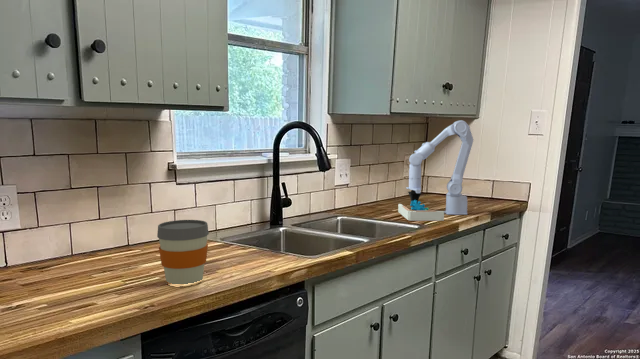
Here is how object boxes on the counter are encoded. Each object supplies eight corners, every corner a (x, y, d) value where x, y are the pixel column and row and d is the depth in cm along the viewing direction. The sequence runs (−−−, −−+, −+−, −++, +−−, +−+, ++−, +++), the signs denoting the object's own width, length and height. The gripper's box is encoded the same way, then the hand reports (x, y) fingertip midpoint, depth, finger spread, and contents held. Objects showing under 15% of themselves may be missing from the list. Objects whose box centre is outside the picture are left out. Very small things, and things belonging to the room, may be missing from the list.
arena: (430, 211, 223) (430, 203, 222) (443, 220, 200) (444, 210, 200) (398, 211, 222) (398, 203, 222) (408, 220, 200) (408, 211, 199)
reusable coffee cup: (191, 271, 126) (189, 217, 125) (219, 280, 118) (218, 223, 117) (149, 282, 117) (147, 224, 115) (176, 293, 109) (175, 231, 107)
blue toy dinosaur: (417, 215, 202) (408, 198, 208) (409, 223, 206) (400, 206, 212) (435, 216, 208) (425, 199, 214) (427, 224, 212) (418, 207, 218)
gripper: (403, 176, 227) (402, 203, 228) (410, 179, 212) (409, 208, 214) (417, 176, 227) (416, 203, 228) (425, 179, 213) (424, 208, 214)
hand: (414, 206), depth 221 cm, fingers closed
